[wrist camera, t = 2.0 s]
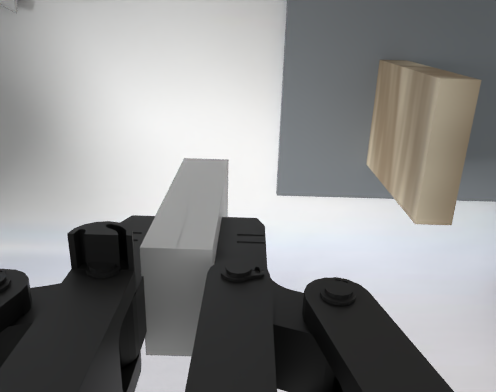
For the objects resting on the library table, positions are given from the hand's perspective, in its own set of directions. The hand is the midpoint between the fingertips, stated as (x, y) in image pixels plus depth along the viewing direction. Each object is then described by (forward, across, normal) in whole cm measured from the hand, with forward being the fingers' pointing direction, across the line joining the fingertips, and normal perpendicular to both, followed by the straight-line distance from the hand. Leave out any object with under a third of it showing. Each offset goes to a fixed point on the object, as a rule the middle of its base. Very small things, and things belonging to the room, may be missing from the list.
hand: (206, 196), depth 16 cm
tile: (+16, +10, 0) cm, 19 cm away
